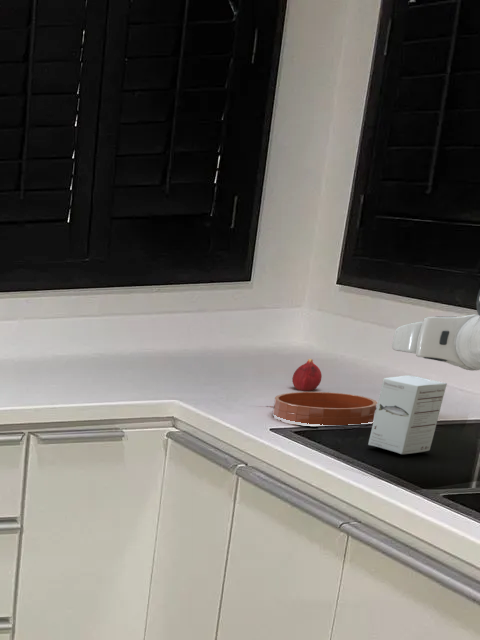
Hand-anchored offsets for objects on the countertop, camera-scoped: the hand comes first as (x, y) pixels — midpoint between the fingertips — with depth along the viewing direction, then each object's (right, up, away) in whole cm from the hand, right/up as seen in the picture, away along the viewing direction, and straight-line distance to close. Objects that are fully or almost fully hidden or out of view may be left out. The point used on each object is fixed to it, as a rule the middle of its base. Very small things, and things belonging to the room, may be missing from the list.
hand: (445, 346), depth 199 cm
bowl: (+1, -6, +41) cm, 41 cm away
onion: (+11, +3, +65) cm, 66 cm away
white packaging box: (+1, -16, +15) cm, 22 cm away
